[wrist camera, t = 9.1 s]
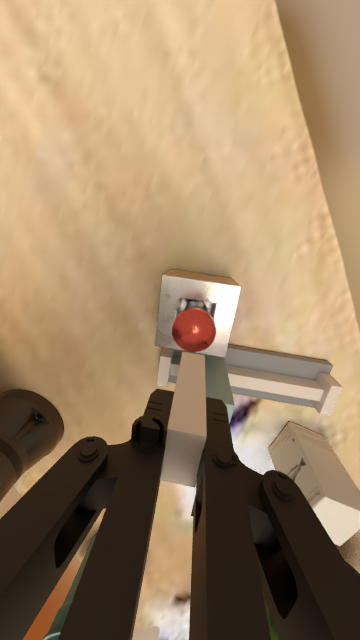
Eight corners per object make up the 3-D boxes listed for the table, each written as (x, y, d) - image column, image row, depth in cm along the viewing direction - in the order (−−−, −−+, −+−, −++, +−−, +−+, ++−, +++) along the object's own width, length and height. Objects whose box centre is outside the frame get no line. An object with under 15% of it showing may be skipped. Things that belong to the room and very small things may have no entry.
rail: (161, 375, 38) (155, 393, 34) (166, 334, 36) (161, 346, 31) (311, 401, 37) (327, 424, 32) (327, 360, 35) (347, 378, 30)
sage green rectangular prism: (181, 379, 36) (172, 435, 25) (186, 348, 34) (178, 395, 23) (217, 385, 36) (223, 445, 25) (223, 355, 34) (234, 405, 23)
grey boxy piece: (164, 325, 35) (154, 345, 28) (171, 269, 32) (162, 274, 25) (219, 334, 35) (224, 357, 27) (231, 278, 32) (240, 286, 24)
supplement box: (288, 419, 39) (326, 495, 27) (325, 435, 39) (379, 518, 27) (266, 447, 41) (292, 529, 29) (301, 462, 41) (342, 549, 29)
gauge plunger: (176, 325, 29) (169, 348, 22) (181, 293, 28) (174, 307, 21) (209, 330, 29) (211, 355, 22) (215, 298, 28) (219, 314, 21)
